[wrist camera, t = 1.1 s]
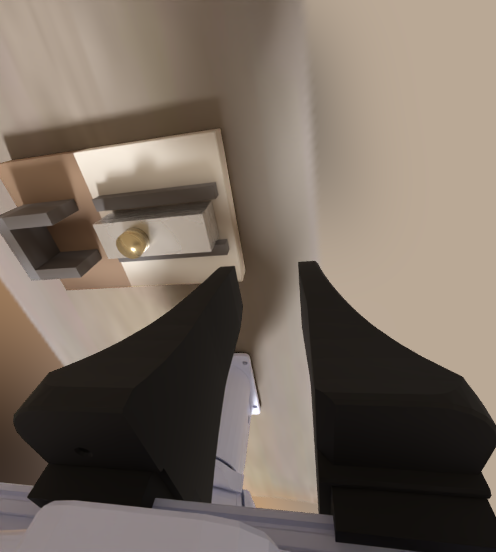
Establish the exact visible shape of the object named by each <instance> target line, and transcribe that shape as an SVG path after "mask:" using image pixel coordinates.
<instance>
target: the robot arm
mask: <svg viewBox="0 0 496 552" xmlns="http://www.w3.org/2000/svg"><path fill="white" fill-rule="evenodd" d="M298 267H299V285H300V302H301V318H302V330H303V336H304V343H305V349H306V355H307V362H308V368H309V374H310V382H311V394H312V410H313V427H314V443H315V460H316V477H317V494H318V511H319V514H314V513H303V512H293V511H283V510H273V509H263V508H255V504H254V502H253V500H252V497H251V494H250V492H249V491H248V490H243V489H242V487H243V479H244V475H243V471H244V467H245V461H246V453H247V445H248V437H249V428H250V420H251V414H259V413H260V410H261V409H260V404H259V399H258V394H257V390H256V385H255V380H254V375H253V370H252V365H251V360H250V356H249V355H248V354H246V353H234V351H235V347H236V343H237V339H238V335H239V331H240V327H241V319H242V310H243V304H242V299H241V294H240V289H239V284H238V279H237V274H236V269H235V266H224V267H219V268H218V269H217V270H216V271H215V272H213V273H212V274H211V275H210V276H209V277H208V278H207V279H206V280H205V281H204V282H203V283H202V284H201V285H199V286H198V287H197V288H196V289H195V290H194V291H193V292H192V293H191V294H190V295H188V296H187V297H186V298H185V299H183V300H182V301H181V302H180V303H179V304H177V305H176V306H175V307H174V308H173V309H171V310H170V311H169V312H167V313H166V314H164V315H163V316H162V317H160V318H159V319H157V320H156V321H154V322H153V323H151V324H150V325H148V326H147V327H145V328H143V329H141V330H140V331H138V332H136V333H134V334H133V335H131V336H129V337H128V338H126V339H124V340H122V341H120V342H118V343H116V344H114V345H112V346H110V347H108V348H106V349H104V350H102V351H100V352H98V353H96V354H94V355H91V356H89V357H87V358H84V359H82V360H79V361H77V362H75V363H72V364H70V365H67V366H65V367H62V368H60V369H57V370H54V371H52V372H49V373H48V375H47V376H46V377H45V378H44V379H43V381H42V382H41V383H40V384H39V385H38V386H37V388H36V389H35V390H34V391H33V392H32V394H31V395H30V396H29V397H28V398H27V400H26V401H25V402H24V403H23V405H22V406H21V407H20V408H19V409H18V410H17V412H16V413H15V414H14V419H13V422H14V426H15V429H16V431H17V433H18V434H19V435H20V436H21V437H22V439H24V441H25V442H27V443H28V444H29V445H30V446H31V447H32V448H33V449H34V450H35V451H36V452H37V453H38V454H39V455H40V456H41V457H42V458H43V459H44V460H45V461H47V462H48V463H49V464H48V465H47V467H46V468H45V470H44V471H43V473H42V474H41V476H40V478H39V479H38V481H37V482H36V484H35V486H30V485H20V484H9V483H0V552H496V517H495V514H494V512H493V510H492V508H491V506H490V504H489V502H488V500H487V499H489V498H490V497H491V491H490V488H489V486H488V484H487V482H486V480H485V479H484V476H483V474H482V472H481V471H482V469H483V468H484V466H485V464H486V463H487V461H488V459H489V458H490V456H491V454H492V453H493V451H494V449H495V448H496V425H495V423H494V421H493V420H492V418H491V416H490V415H489V413H488V411H487V410H486V408H485V407H484V405H483V404H482V402H481V401H480V399H479V398H478V396H477V395H476V394H475V392H474V391H473V390H472V389H471V387H470V386H469V385H468V384H467V382H466V381H465V379H464V378H463V377H462V376H460V375H458V374H456V373H454V372H452V371H450V370H448V369H446V368H444V367H442V366H440V365H438V364H436V363H434V362H432V361H430V360H428V359H426V358H424V357H422V356H420V355H418V354H417V353H415V352H413V351H411V350H410V349H408V348H406V347H404V346H403V345H401V344H399V343H398V342H396V341H395V340H393V339H392V338H390V337H389V336H387V335H386V334H385V333H383V332H382V331H380V330H379V329H377V328H376V327H374V326H373V325H372V324H371V323H369V322H368V321H367V320H366V319H365V318H363V317H362V316H361V315H360V314H359V313H358V312H357V311H356V310H355V309H353V308H352V307H351V306H350V305H349V304H348V303H347V301H346V300H344V298H343V297H342V296H341V295H340V294H339V293H338V292H337V290H336V289H335V288H334V287H333V286H332V284H331V283H330V282H329V280H328V279H327V278H326V276H325V275H324V273H323V272H322V270H321V269H320V267H319V265H318V263H317V262H316V261H306V262H298ZM245 361H246V362H245Z"/></svg>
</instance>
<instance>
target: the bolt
mask: <svg viewBox="0 0 496 552" xmlns="http://www.w3.org/2000/svg"><path fill="white" fill-rule="evenodd" d="M93 227H94V229H95V231H96V233H97V235H98V238H99V240H100V242H101V244H102V246H103V248H104V250H105V253H106V255H107V257H108V259H116V258H130V259H136V258H139V257H144V256H158V255H172V254H186V253H200V252H212V250H213V248H214V245H215V243H216V241H217V239H218V237H219V233H218V229H217V224H216V219H215V215H214V210H213V206H212V201H207V202H198V203H188V204H179V205H170V206H160V207H151V208H141V209H132V210H122V211H113V212H110V213H109V214H107V215H106V216H104V217H103V218H102V219H100V220H99V221H97V222H96V223H94V224H93Z"/></svg>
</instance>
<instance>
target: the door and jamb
mask: <svg viewBox="0 0 496 552" xmlns="http://www.w3.org/2000/svg"><path fill="white" fill-rule="evenodd" d="M0 179H1V180H2V182H3V184H4V185H5V187H6V189H7V190H8V192H9V194H10V196H11V197H12V199H13V201H14V202H15V204H16V206H17V208H15V209H13V210H10V211H8V212H6V213H3V214H1V215H0V233H1V235H2V236H3V238H4V239H5V241H6V242H7V244H8V246H9V247H10V249H11V250H12V252H13V253H14V255H15V256H16V258H17V259H18V261H19V262H20V264H21V265H22V267H23V268H24V270H25V271H26V273H27V274H28V276H29V277H30V279H31V280H48V279H60V280H61V282H62V283H63V285H64V287H65V288H66V290H80V289H100V288H120V287H140V286H160V285H180V284H200V283H203V282H204V281H205V280H206V279H207V278H208V277H209V276H210V275H211V274H212V273H213V272H215V271H216V270H217V269H218V268H219V267H224V266H235V269H236V274H237V279H238V282H239V281H243V278H244V274H245V265H244V259H243V254H242V248H241V242H240V237H239V231H238V225H237V220H236V214H235V209H234V203H233V197H232V192H231V186H230V180H229V175H228V169H227V163H226V158H225V152H224V146H223V141H222V135H221V129H220V128H218V129H212V130H205V131H199V132H192V133H186V134H179V135H173V136H166V137H160V138H153V139H147V140H140V141H134V142H127V143H121V144H114V145H108V146H101V147H95V148H88V149H82V150H75V151H69V152H62V153H56V154H49V155H43V156H36V157H30V158H23V159H17V160H11V161H7V162H3V163H0ZM207 201H212V206H213V210H214V215H215V219H216V224H217V229H218V233H219V237H218V239H217V241H216V243H215V245H214V248H213V250H212V252H200V253H186V254H172V255H158V256H144V257H139V258H136V259H130V258H116V259H108V257H107V255H106V253H105V250H104V248H103V246H102V244H101V242H100V240H99V238H98V235H97V233H96V231H95V229H94V227H93V224H94V223H96V222H97V221H99V220H100V219H102V218H103V217H104V216H106V215H107V214H109V213H110V212H113V211H122V210H132V209H141V208H151V207H160V206H170V205H179V204H188V203H198V202H207Z"/></svg>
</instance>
